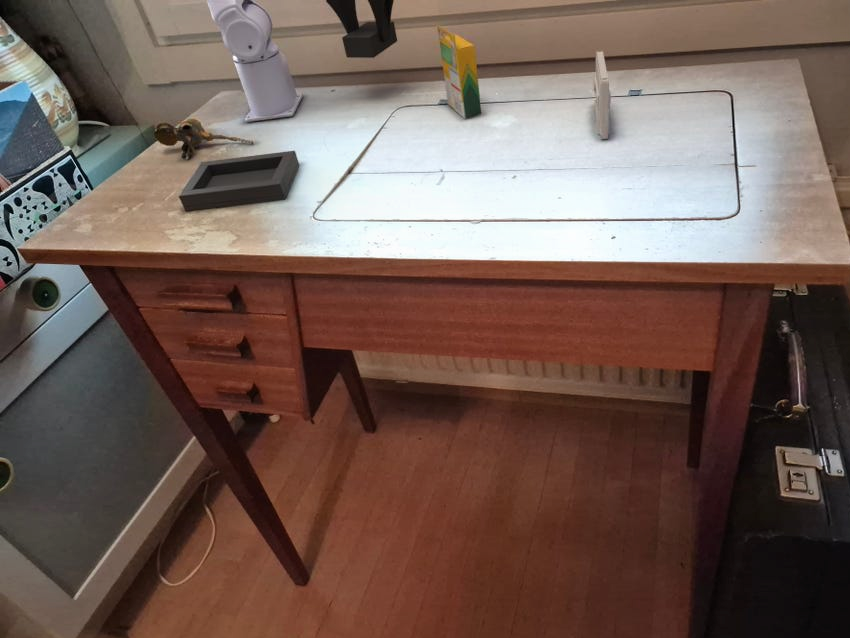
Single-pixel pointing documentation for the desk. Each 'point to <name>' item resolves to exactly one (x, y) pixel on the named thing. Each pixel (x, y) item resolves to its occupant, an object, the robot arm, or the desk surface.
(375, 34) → the dark grey block
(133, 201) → the desk surface
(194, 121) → the regulator
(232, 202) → the dark grey rectangular tray
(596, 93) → the cassette
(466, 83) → the crayon box
